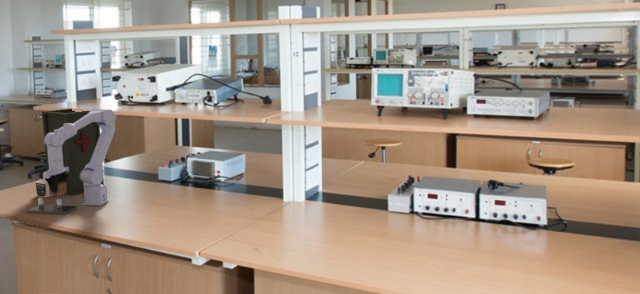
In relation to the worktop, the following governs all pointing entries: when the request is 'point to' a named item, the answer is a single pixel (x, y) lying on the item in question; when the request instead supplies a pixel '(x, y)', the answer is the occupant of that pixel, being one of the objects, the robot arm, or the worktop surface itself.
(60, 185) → the sleeve
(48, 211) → the pin board
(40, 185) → the medicine bottle
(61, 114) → the first aid box
